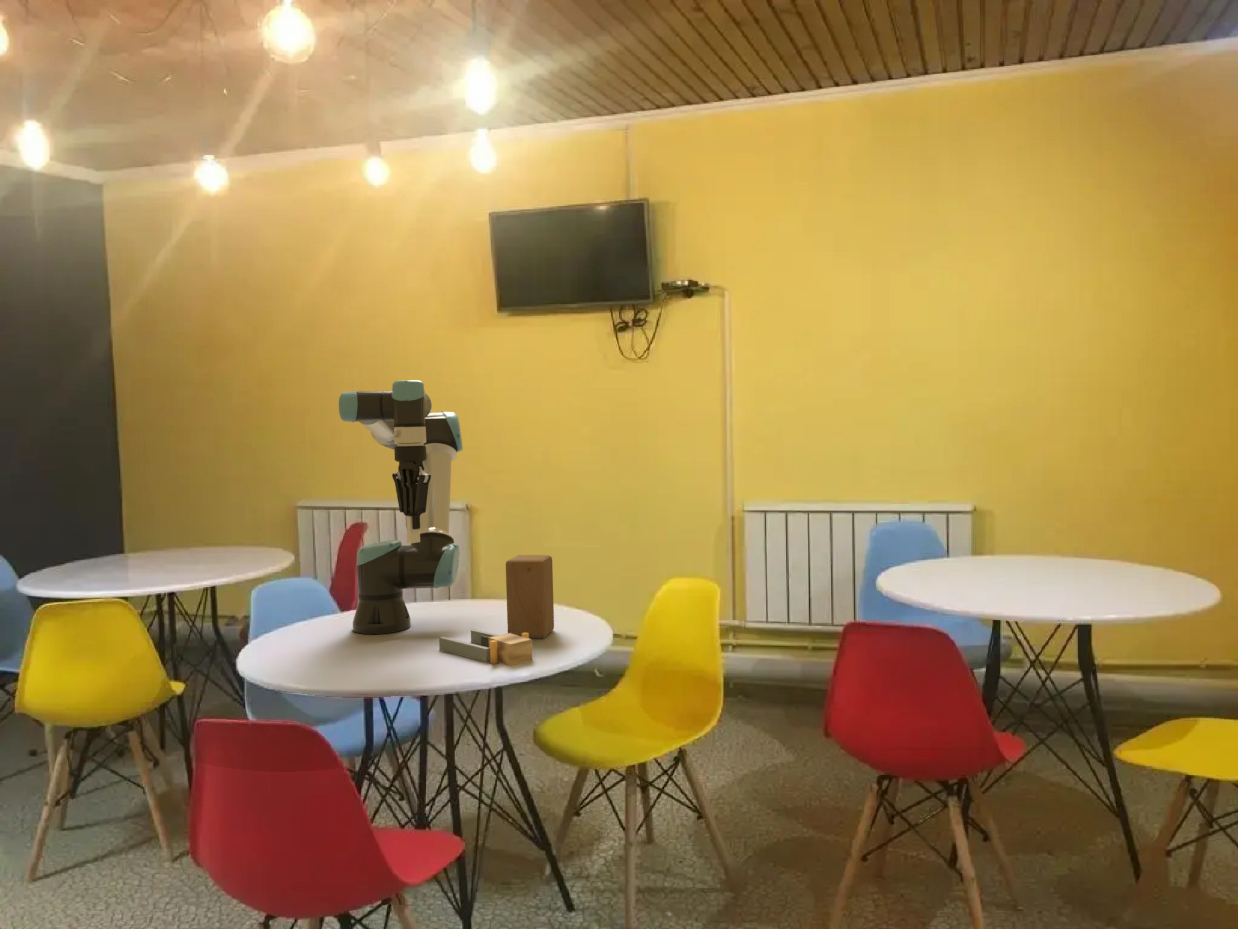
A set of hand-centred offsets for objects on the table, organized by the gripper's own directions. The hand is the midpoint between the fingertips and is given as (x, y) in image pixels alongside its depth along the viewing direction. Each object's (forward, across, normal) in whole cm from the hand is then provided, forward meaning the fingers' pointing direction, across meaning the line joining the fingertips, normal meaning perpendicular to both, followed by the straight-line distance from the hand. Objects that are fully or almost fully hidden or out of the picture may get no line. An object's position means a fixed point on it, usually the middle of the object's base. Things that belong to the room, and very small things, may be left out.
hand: (413, 542), depth 221 cm
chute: (+26, +14, +9) cm, 31 cm away
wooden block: (+27, +10, +28) cm, 40 cm away
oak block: (+27, +24, +9) cm, 37 cm away
